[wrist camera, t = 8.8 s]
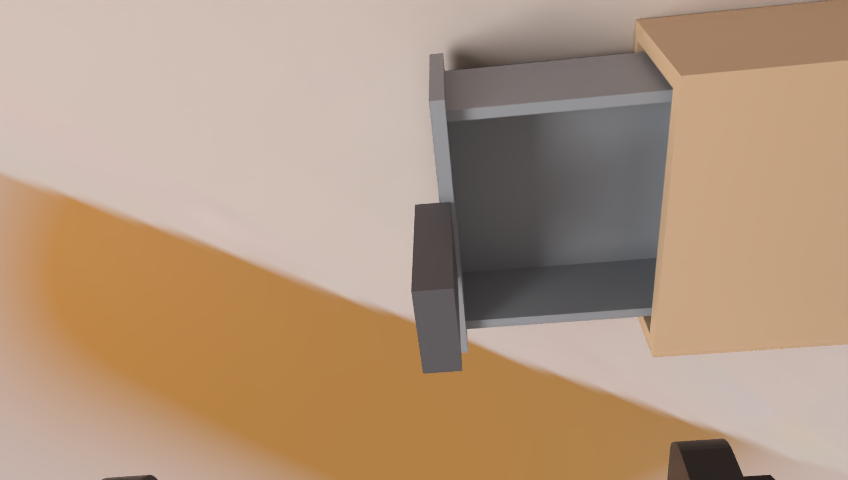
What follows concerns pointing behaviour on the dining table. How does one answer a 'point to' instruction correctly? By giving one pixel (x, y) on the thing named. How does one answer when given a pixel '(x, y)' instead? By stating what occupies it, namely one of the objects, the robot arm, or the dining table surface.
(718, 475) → the robot arm
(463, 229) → the tray
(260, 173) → the dining table surface
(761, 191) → the mailer sleeve
